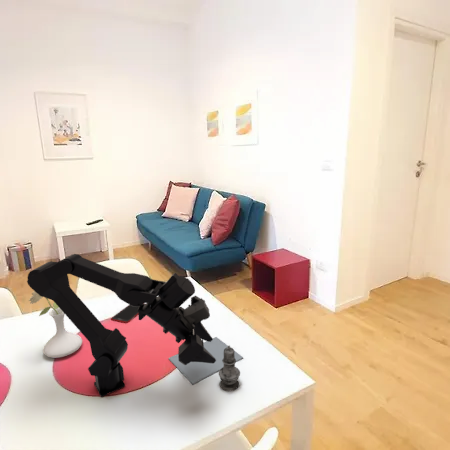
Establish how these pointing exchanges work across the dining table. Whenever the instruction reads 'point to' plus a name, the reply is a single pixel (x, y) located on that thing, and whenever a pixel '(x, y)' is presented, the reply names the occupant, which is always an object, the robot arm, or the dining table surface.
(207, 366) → the mat
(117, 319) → the cell phone
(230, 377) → the dark grey chess piece
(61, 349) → the flower in vase
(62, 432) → the dining table surface
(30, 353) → the dining table surface
